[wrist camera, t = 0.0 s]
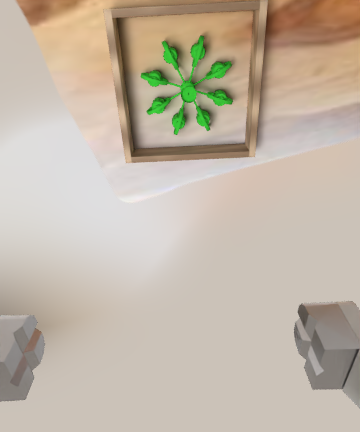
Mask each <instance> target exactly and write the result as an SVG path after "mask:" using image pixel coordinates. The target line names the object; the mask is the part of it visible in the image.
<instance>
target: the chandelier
mask: <svg viewBox="0 0 360 432" xmlns="http://www.w3.org/2000/svg"><path fill="white" fill-rule="evenodd" d="M203 41H204V36H200V38H199V40H198V43H197V44H194V45H193V46H192V48H191V52H190V53H191V55H192V57H193V58H194V59H193V63H192V67H193V68H192V72H191V76H190V79H189V81H184V79H183V77H182V75H181V73H180V71H179V67H178V64H177V62H176V60H177V56H178V54H177V51H176V50H175V48H172V47H168V45H167V43H166V41H163V42H162V44H163V47H164V49H165V51H164V56H163V57H164V60H165V61H166V63H169V64H170V63H172V64H173V66H174V68H175V69H176V70H177V71H178V73H179V75H180V76H181V78H182V80H183V83H182V85H181V86H180V85H177V84H173V83H170V82H168V80H166V79H165V78H162V77H161V74H160V72H158V71H157V70H156V71H154V70H153V71H151V72H150V74H149V73H141V78H143V79H145V80H147V81H148V83H149V84H150V85H151V86H154V87H156V86H159V84H161V85H167V84H171V85H174V86H177V87H181V92H180V93H178V94H176V95H175V96H173V97H171V98H169V97H168V98H165V99H162V98H159V97H158V98H155V100H153V103H152V107H150V108H149V109H148V110H147V113H148V115H150V114H153V113H157V114H160V113H162V112H163V111H164V109H165V106H166V105H167V104H169V103H170V101H171V99H173V98H175V97H176V96H178V95H180V94H181V97H182V99H183V105H182V109H181V108H180V110H179V113H178V114H175V115H174V117H173V118H172V124H173V127H175V129H174V134H175V135H177V134H178V131H179V129H182V128H183V127H184V125H185V118H184V116H183V107H184V103H185V102H187V103H191V102H194V103H195V105H196V109H197V112H198V114H197V117H196V118H197V122H198V124H199V125H201V126H205V128H206V129H207V131H209V130H210V127H209V125H208V124H209V121H210V117H209V114H208V113H207V111H204V110H203V111H202V110H201V109H200V107H199V106H197V104H196V102H195V98H196V92H198V93H201V94H204V95H207V97H208V98H210V99H212V100H213V101H214V102H215V104H216V105H218V106H222V105H224V104H232V102H233V100H232V99H230V98H228V97H227V96H226V94H225V92H224V91H222V90H217V91H215V92H214V93H212V92H208V93H203V92H200V91H197V90H195V85H196V84H198V83H200V82H201V81H203V80H205V79H206V78H207V79H211V78H214V77H215V78H222V77H223V76H224V75H225V73H226V70H227V69H229V68H230V67H231V66H232V64H231V61H228V62H225V63H223V64H222V63H221V62H216V63H214V64H213V65H212V67H211V71H210V72H209V73H207V74H206V77H205V78H203V79H202V80H200V81H198V82H196V83H195V84H193V83H192V82H191V78H192V74H193V71H194V67H196V65H197V63H198V60H201V59H202V58H203V57H204V55H205V50H204V47H203V46H202V45H203ZM211 74H212V75H211ZM159 99H160V100H159ZM177 117H178V118H177Z"/></svg>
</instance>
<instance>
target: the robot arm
mask: <svg viewBox="0 0 360 432" xmlns="http://www.w3.org/2000/svg"><path fill="white" fill-rule="evenodd" d="M298 314H299V317H300V319H298V320H297V321H296V323H295V327H294V336H295V342H296V346H297V349H298V352H299V354H300V355H301V356H303V357H304V358H305V359H306V363H305V367H304V368H305V371H306V373H307V376H308V379H309V381H310V384H311V387H312V389H343V392H344V393H345V394H346V395H347V396H348V397H349V398H350V399H351V400H352V401H353V402H354V403H355V404H356V405H357V406H358V407H359V408H360V310H359V308H358V307H357V305H356V304H355V303H354V302H352V301H346V302H322V303H304V304H303V303H302V304H301V305H300V306H299V308H298ZM37 323H38V322H37V320H36V318H35V317H34V315H5V316H3V315H1V316H0V401H15V400H25V399H26V397H27V394H28V392H29V390H30V387H31V384H32V382H33V380H34V375H33V372H32V370H33V369H34V368H36V367H37V366H38V365H39V364H40V362H41V359H42V356H43V353H44V346H45V343H44V337H43V334H42V332H41V331H39V330H38V329H36V328H35V327H36V325H37Z"/></svg>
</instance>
